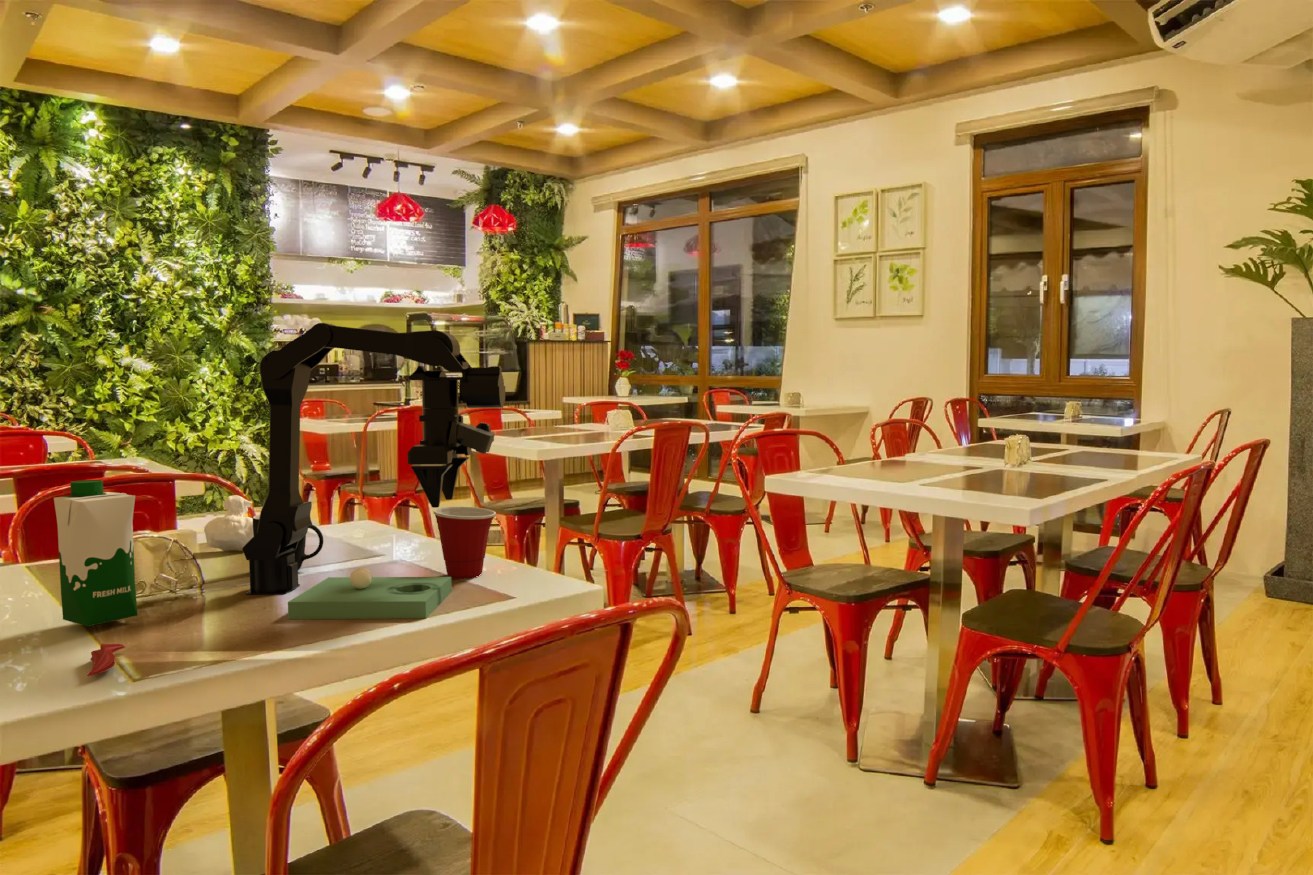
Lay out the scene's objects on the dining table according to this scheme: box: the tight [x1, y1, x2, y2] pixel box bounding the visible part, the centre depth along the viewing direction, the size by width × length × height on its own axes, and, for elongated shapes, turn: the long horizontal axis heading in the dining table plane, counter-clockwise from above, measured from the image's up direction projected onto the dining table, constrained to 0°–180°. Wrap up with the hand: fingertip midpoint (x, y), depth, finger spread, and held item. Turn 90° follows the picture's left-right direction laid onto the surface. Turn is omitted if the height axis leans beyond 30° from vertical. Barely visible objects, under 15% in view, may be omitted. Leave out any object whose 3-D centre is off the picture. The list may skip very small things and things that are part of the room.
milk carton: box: [53, 479, 138, 627], centre depth 130 cm, size 9×9×20 cm
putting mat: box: [287, 576, 452, 620], centre depth 137 cm, size 20×16×2 cm
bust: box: [203, 494, 254, 552], centre depth 181 cm, size 12×8×11 cm, turn 91°
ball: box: [349, 567, 373, 589], centre depth 137 cm, size 3×3×3 cm
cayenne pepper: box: [86, 642, 126, 677], centre depth 112 cm, size 12×5×2 cm, turn 7°
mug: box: [252, 514, 324, 571], centre depth 162 cm, size 12×9×10 cm
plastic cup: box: [432, 506, 497, 580], centre depth 156 cm, size 11×11×12 cm
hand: (442, 503), depth 146 cm, fingers open, 9 cm apart
